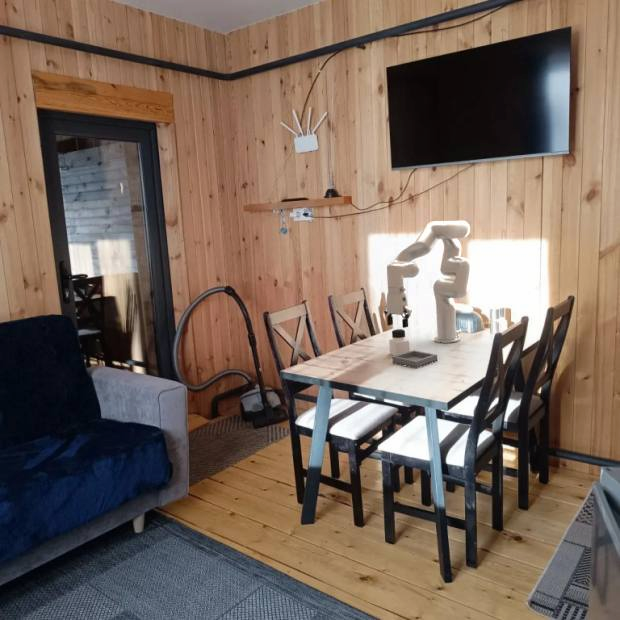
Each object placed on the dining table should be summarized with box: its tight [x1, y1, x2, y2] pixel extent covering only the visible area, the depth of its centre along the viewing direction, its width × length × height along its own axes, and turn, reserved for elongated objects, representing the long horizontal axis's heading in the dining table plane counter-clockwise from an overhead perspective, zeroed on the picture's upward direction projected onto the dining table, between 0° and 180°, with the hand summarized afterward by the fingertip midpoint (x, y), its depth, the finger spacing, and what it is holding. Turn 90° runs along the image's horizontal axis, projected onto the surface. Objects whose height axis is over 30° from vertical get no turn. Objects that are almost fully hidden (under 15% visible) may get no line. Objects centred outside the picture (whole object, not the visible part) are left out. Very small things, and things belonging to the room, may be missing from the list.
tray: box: [392, 349, 439, 369], centre depth 262 cm, size 14×14×3 cm
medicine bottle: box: [388, 328, 411, 357], centre depth 276 cm, size 7×7×12 cm
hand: (397, 326), depth 275 cm, fingers open, 9 cm apart
